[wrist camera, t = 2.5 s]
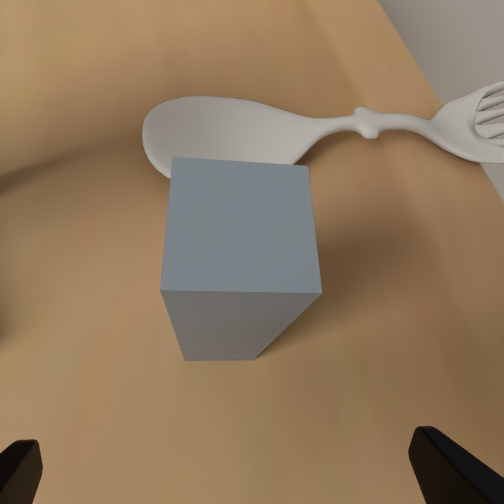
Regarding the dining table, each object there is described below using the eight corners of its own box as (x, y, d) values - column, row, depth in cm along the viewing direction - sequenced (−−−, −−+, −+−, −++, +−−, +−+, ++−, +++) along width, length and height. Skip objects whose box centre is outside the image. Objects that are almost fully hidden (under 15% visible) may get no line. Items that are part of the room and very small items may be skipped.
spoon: (528, 181, 30) (566, 155, 27) (149, 210, 24) (142, 180, 21) (484, 105, 34) (513, 74, 30) (143, 113, 28) (136, 75, 24)
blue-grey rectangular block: (253, 360, 20) (322, 293, 9) (184, 360, 20) (160, 290, 8) (251, 295, 22) (307, 165, 10) (188, 294, 22) (172, 156, 10)
